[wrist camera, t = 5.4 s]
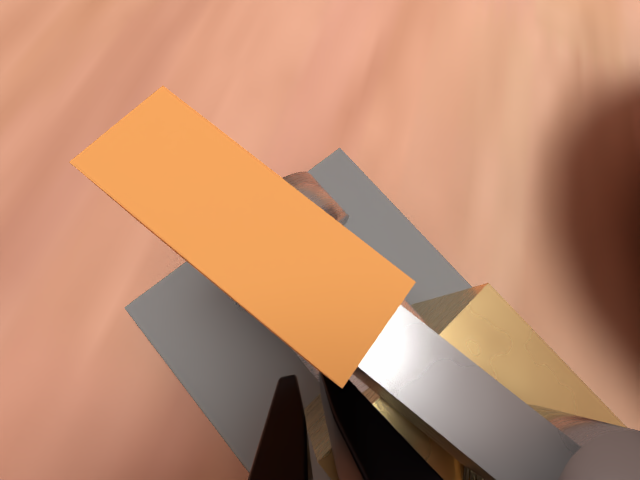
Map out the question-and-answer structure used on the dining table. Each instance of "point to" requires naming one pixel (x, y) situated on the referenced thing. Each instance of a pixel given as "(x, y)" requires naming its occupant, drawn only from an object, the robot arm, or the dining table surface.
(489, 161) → the dining table surface
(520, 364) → the valve assembly
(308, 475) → the robot arm
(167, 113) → the valve lever
